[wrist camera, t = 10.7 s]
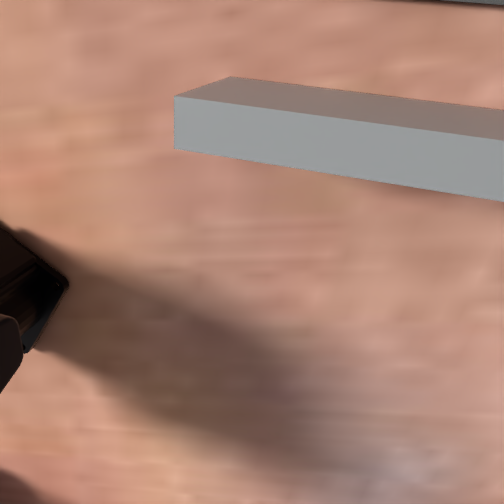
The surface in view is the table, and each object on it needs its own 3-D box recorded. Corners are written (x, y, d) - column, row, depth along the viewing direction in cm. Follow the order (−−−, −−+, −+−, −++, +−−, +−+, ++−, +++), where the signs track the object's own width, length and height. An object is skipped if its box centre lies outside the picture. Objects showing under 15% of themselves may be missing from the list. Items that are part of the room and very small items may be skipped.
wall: (816, 148, 14) (1006, 208, 9) (786, 197, 14) (949, 273, 10) (230, 76, 17) (174, 95, 13) (228, 117, 18) (174, 148, 14)
